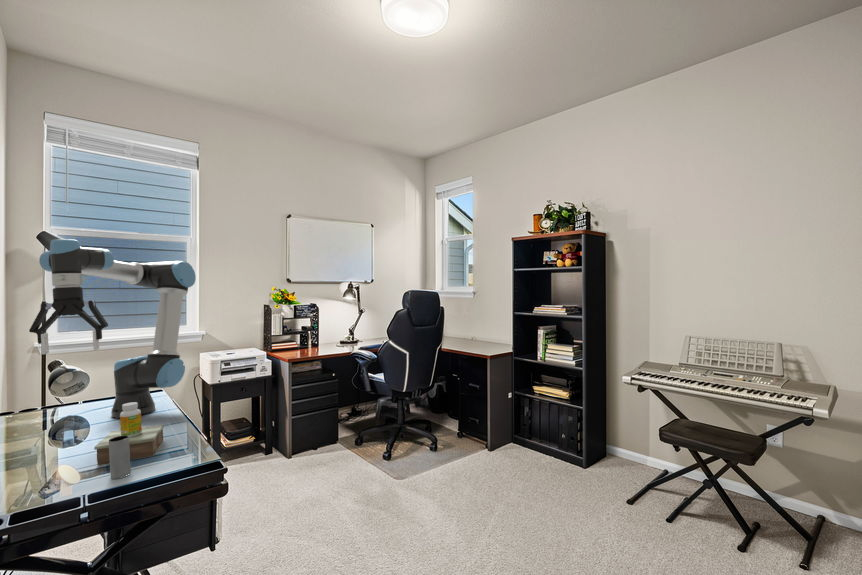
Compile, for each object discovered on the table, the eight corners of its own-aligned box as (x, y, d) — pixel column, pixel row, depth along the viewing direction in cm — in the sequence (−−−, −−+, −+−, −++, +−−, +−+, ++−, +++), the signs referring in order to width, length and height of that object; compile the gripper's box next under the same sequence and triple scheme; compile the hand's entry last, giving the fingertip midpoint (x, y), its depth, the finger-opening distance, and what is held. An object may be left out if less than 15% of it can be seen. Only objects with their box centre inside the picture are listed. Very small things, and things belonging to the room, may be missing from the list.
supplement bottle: (129, 438, 133) (127, 406, 132) (116, 437, 134) (115, 405, 134) (146, 432, 138) (144, 401, 137) (134, 431, 139) (132, 401, 139)
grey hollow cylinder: (128, 477, 118) (125, 439, 117) (108, 480, 116) (105, 442, 116) (133, 470, 122) (131, 434, 122) (114, 473, 120) (111, 436, 120)
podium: (112, 448, 140) (111, 431, 140) (165, 440, 146) (164, 424, 145) (95, 466, 126) (94, 446, 126) (154, 456, 132) (153, 438, 132)
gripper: (12, 288, 134) (16, 357, 134) (109, 284, 143) (113, 349, 143) (25, 288, 141) (29, 353, 141) (116, 285, 150) (120, 346, 150)
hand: (71, 351), depth 142 cm, fingers open, 13 cm apart
